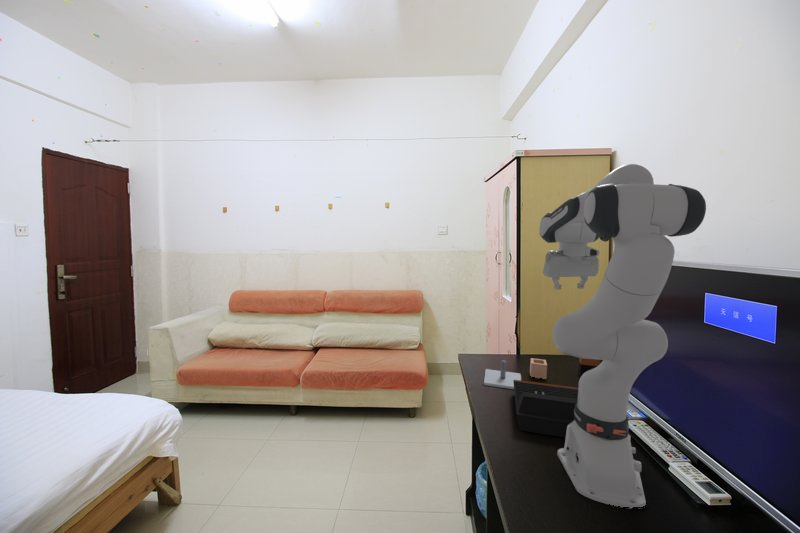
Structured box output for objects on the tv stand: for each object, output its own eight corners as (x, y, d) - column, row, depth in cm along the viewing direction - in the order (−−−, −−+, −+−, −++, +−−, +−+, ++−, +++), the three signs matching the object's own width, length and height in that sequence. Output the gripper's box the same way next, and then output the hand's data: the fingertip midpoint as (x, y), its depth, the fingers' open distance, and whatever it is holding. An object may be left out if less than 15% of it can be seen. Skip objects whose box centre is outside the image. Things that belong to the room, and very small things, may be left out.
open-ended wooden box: (546, 379, 142) (547, 365, 141) (530, 377, 144) (531, 363, 143) (544, 373, 148) (545, 359, 147) (529, 371, 149) (530, 358, 149)
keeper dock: (521, 390, 132) (523, 370, 131) (483, 385, 136) (484, 365, 135) (520, 375, 145) (521, 357, 144) (485, 371, 149) (486, 353, 148)
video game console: (597, 407, 121) (600, 379, 120) (622, 450, 97) (625, 416, 96) (512, 394, 129) (513, 368, 128) (515, 432, 105) (517, 400, 104)
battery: (598, 379, 143) (600, 356, 142) (580, 377, 144) (581, 354, 143) (595, 375, 147) (597, 352, 146) (577, 373, 149) (579, 350, 148)
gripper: (552, 251, 118) (549, 291, 120) (603, 251, 122) (599, 289, 124) (540, 249, 124) (538, 287, 126) (590, 249, 128) (586, 286, 130)
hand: (569, 288), depth 125 cm, fingers open, 8 cm apart
